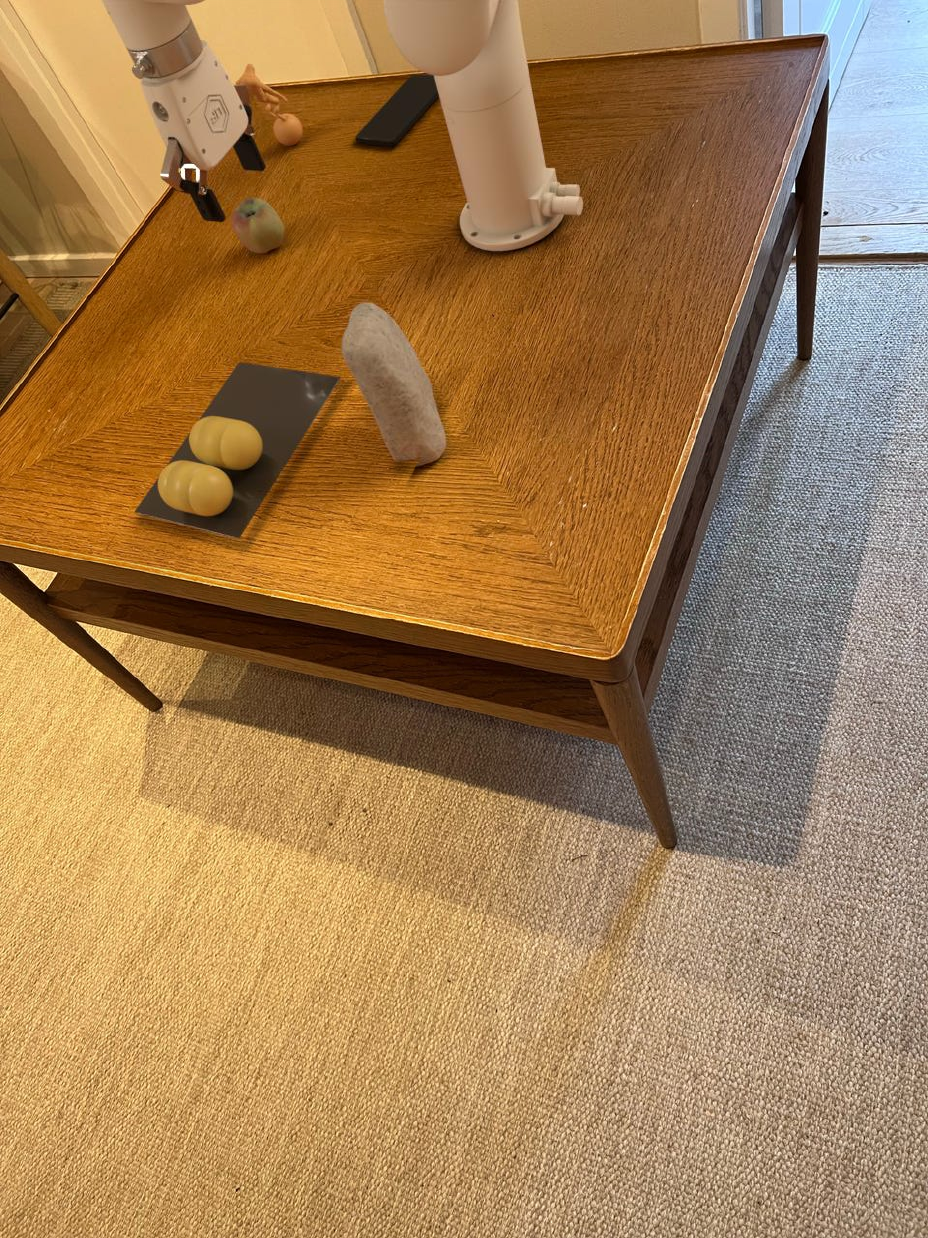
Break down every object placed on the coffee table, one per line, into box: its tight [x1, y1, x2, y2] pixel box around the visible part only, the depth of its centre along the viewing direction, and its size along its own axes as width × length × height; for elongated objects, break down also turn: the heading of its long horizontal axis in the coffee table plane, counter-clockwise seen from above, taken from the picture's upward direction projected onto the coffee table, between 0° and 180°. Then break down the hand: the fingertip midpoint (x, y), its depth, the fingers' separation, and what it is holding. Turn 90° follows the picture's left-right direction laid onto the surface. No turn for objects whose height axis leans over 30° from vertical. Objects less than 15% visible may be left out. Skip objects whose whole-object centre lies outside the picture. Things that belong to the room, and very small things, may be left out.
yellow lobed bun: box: [189, 416, 262, 470], centre depth 93 cm, size 8×5×5 cm, turn 65°
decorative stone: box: [341, 302, 447, 468], centre depth 86 cm, size 11×6×15 cm, turn 5°
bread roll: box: [157, 460, 233, 516], centre depth 90 cm, size 8×5×5 cm, turn 65°
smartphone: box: [355, 74, 439, 148], centre depth 124 cm, size 7×1×15 cm
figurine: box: [234, 63, 303, 147], centre depth 123 cm, size 8×6×12 cm
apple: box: [230, 197, 285, 254], centre depth 114 cm, size 6×8×6 cm
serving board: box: [133, 361, 342, 540], centre depth 96 cm, size 14×22×2 cm, turn 155°
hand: (235, 193), depth 111 cm, fingers open, 9 cm apart
